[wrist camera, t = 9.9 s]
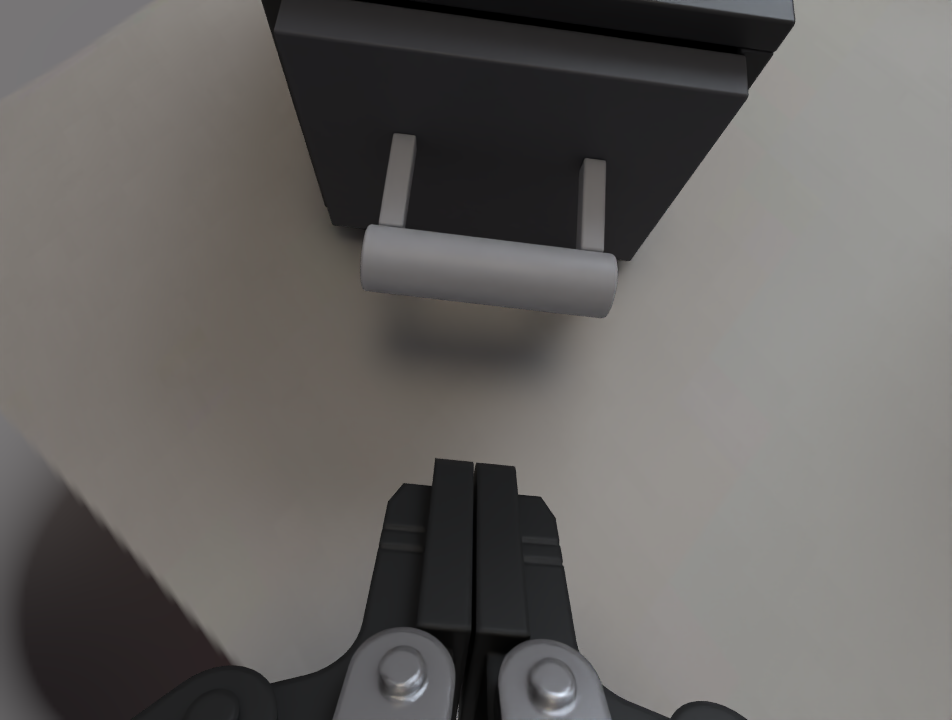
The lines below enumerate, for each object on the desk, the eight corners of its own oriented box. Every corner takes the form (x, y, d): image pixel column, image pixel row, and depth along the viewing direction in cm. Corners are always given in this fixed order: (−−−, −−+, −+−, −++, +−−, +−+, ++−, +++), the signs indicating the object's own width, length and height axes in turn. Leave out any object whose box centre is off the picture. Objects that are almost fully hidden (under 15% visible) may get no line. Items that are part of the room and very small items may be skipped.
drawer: (629, 379, 19) (763, 272, 11) (309, 343, 18) (225, 207, 11) (632, -6, 24) (725, -253, 16) (383, -42, 23) (362, -314, 16)
